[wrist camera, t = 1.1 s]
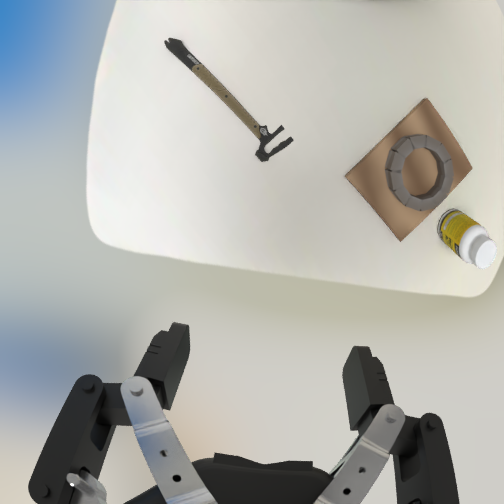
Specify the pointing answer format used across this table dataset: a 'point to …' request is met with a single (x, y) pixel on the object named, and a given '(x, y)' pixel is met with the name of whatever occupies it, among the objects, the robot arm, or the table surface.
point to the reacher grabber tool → (227, 99)
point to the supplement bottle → (467, 239)
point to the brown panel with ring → (411, 170)
